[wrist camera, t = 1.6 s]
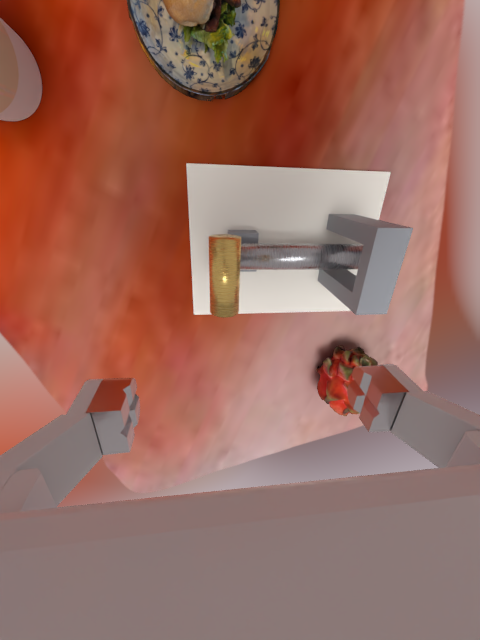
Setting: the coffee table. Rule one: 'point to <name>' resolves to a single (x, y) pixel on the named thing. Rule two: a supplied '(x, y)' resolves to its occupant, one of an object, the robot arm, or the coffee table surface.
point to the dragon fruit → (340, 377)
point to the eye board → (296, 235)
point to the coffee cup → (17, 77)
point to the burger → (206, 42)
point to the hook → (266, 264)
